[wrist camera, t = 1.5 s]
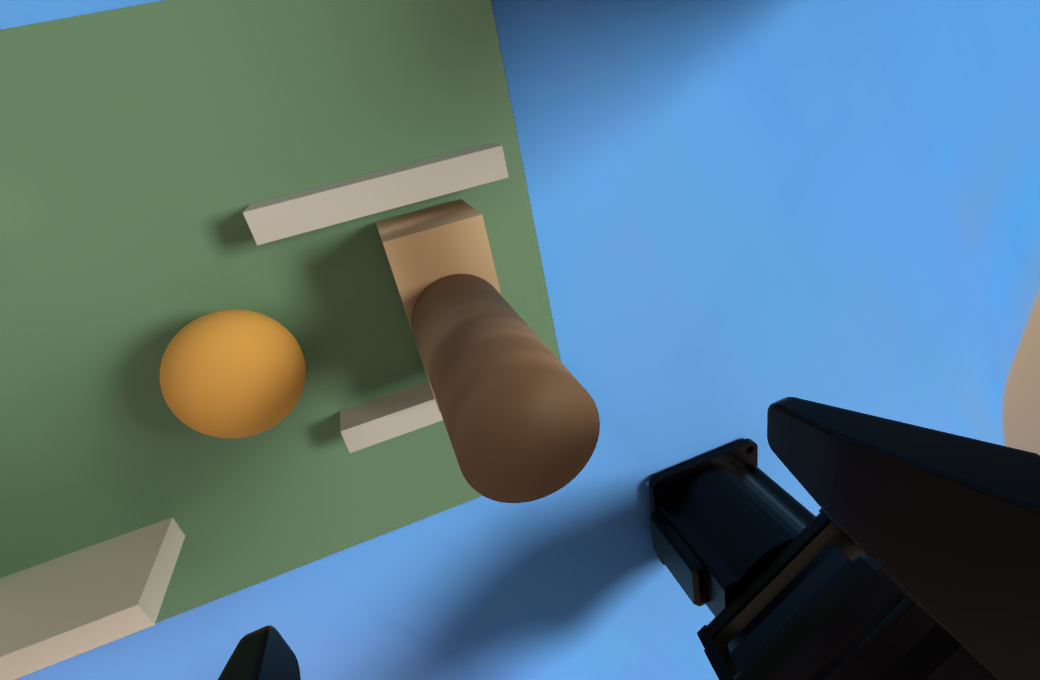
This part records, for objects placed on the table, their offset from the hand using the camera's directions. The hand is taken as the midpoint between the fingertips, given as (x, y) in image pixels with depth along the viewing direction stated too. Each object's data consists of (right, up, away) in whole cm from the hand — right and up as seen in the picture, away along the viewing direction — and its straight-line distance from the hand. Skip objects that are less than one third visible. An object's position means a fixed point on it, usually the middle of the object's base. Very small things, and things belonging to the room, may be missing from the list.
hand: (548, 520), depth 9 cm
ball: (-9, +2, +8) cm, 12 cm away
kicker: (-3, +5, +11) cm, 12 cm away
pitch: (-11, +3, +10) cm, 15 cm away
